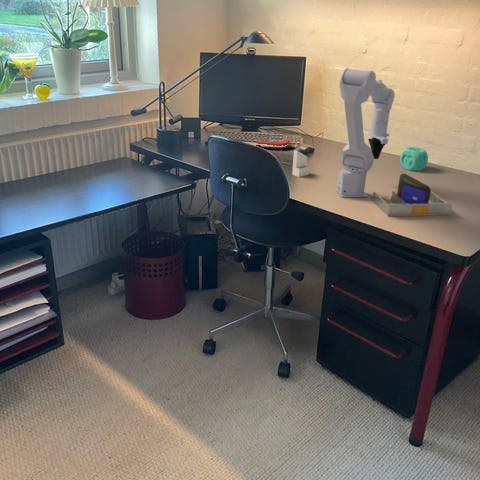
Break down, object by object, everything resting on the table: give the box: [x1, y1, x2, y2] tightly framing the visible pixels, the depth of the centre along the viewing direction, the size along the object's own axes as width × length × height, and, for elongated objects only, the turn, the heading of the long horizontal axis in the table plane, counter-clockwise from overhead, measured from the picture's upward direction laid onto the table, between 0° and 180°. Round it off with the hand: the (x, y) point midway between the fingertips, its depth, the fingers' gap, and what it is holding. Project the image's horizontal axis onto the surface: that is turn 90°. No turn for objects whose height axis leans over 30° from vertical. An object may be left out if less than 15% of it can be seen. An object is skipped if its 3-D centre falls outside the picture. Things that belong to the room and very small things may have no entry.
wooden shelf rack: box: [371, 190, 453, 217], centre depth 178 cm, size 21×15×4 cm
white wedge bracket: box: [291, 149, 311, 178], centre depth 207 cm, size 4×10×9 cm, turn 129°
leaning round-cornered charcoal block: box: [396, 173, 431, 203], centre depth 178 cm, size 16×5×9 cm, turn 17°
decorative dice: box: [399, 146, 429, 172], centre depth 220 cm, size 8×8×8 cm
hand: (374, 158), depth 198 cm, fingers closed
